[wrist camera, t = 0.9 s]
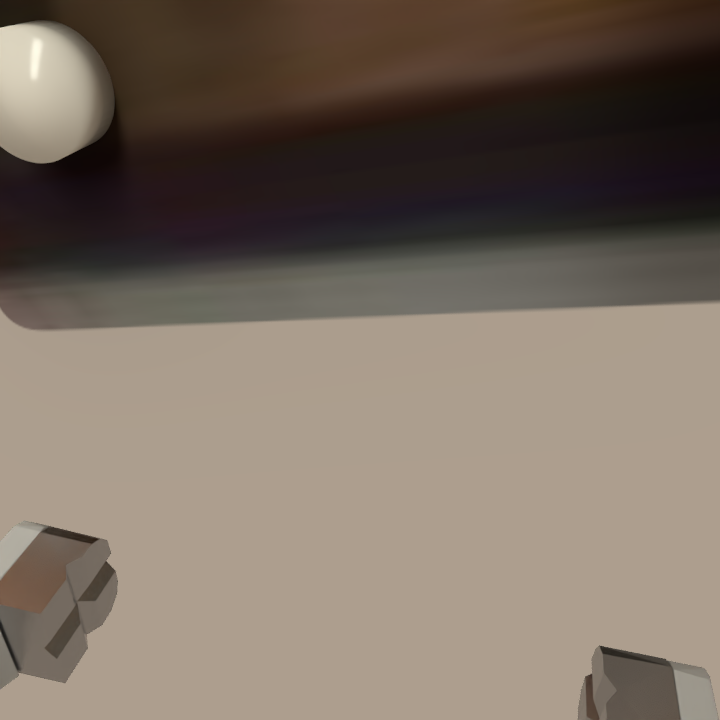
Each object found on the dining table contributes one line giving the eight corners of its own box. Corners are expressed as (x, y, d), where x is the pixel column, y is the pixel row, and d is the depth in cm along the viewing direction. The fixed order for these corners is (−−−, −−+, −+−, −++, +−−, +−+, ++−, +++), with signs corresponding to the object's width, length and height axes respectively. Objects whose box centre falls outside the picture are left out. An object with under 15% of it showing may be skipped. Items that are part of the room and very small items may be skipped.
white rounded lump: (-8, 14, 50) (-52, 22, 47) (105, 25, 49) (68, 34, 45) (20, 139, 55) (-18, 155, 51) (123, 152, 54) (91, 170, 50)
